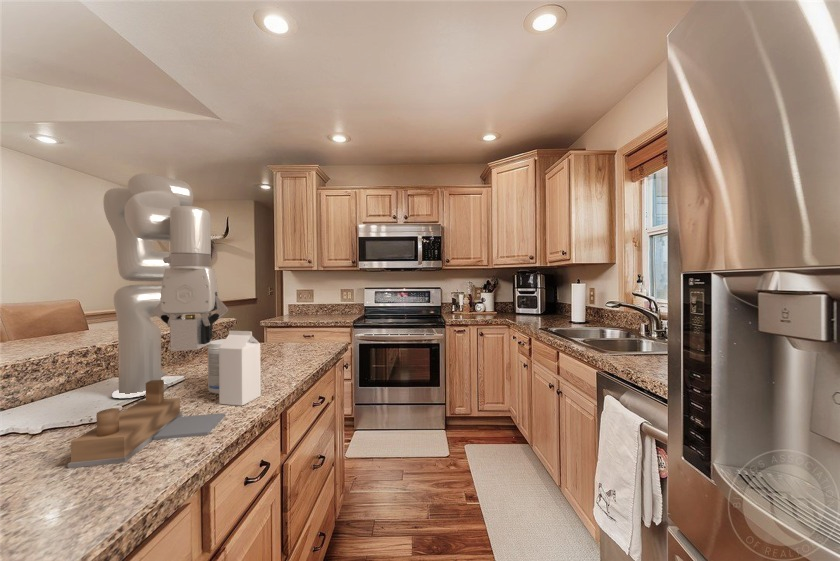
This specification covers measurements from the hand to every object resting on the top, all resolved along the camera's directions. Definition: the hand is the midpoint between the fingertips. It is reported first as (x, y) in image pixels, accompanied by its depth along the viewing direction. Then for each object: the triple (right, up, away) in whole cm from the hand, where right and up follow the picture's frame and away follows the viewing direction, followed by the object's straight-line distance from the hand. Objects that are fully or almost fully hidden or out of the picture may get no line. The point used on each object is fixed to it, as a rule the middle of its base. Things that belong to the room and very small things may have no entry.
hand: (191, 342), depth 73 cm
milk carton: (+2, -19, +16) cm, 25 cm away
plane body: (-9, -19, -5) cm, 21 cm away
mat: (0, -19, 0) cm, 19 cm away
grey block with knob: (0, -1, 0) cm, 1 cm away
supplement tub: (-7, -19, +25) cm, 32 cm away
